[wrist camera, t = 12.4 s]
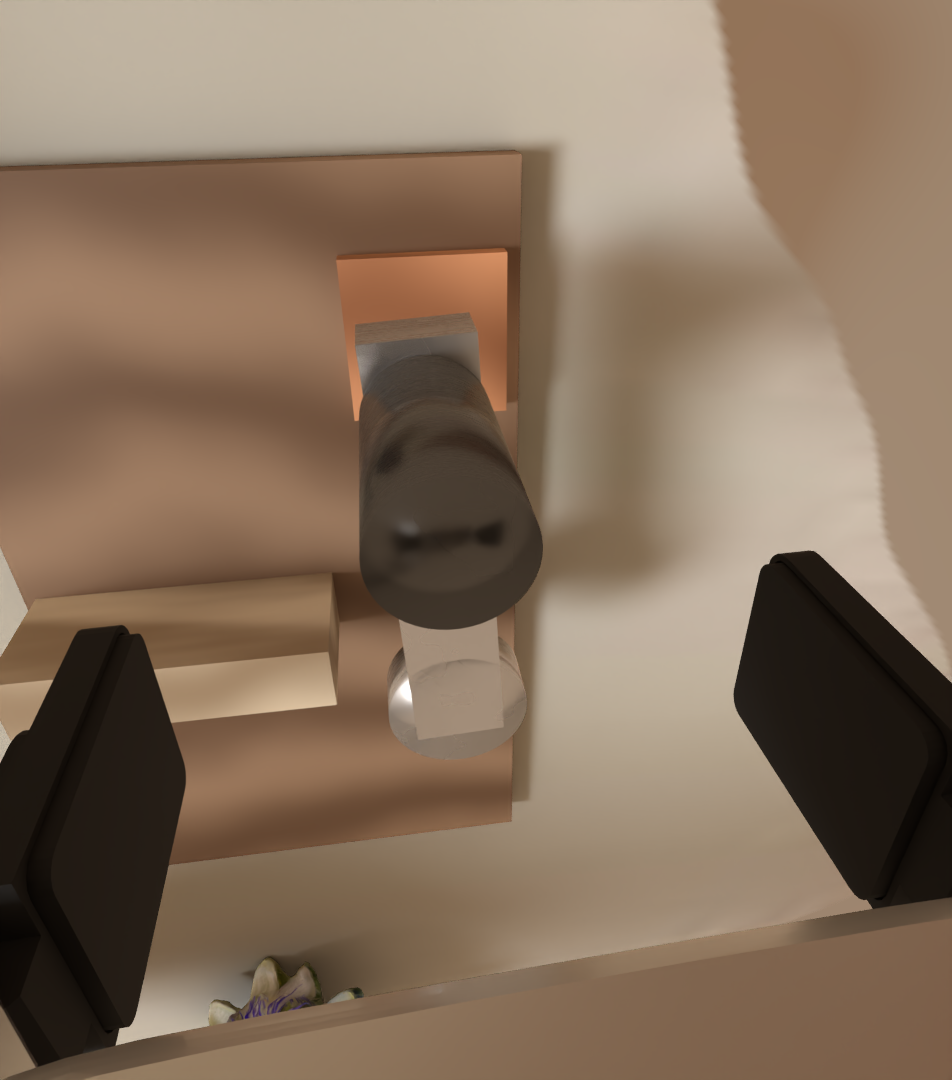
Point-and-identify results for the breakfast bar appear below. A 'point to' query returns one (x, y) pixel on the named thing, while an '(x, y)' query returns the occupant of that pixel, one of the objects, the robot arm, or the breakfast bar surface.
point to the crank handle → (442, 534)
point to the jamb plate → (238, 462)
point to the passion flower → (277, 994)
